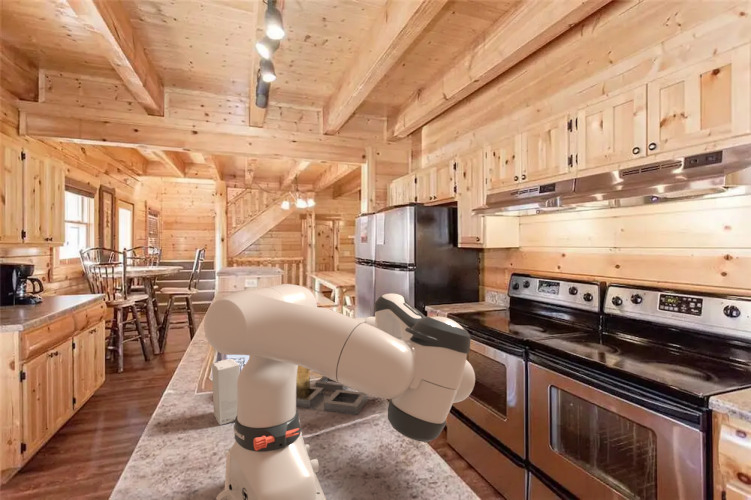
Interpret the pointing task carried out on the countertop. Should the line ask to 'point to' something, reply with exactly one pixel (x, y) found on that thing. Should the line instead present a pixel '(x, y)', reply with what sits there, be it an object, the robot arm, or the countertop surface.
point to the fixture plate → (333, 401)
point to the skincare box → (225, 390)
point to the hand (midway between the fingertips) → (332, 328)
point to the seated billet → (303, 382)
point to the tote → (329, 385)
